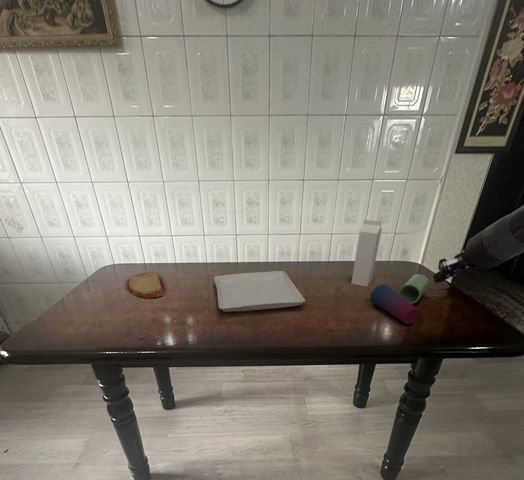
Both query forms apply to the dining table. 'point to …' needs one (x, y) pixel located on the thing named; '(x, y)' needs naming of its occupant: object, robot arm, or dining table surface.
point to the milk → (366, 252)
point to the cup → (394, 304)
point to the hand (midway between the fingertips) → (436, 278)
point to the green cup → (414, 288)
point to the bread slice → (146, 285)
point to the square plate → (256, 291)
